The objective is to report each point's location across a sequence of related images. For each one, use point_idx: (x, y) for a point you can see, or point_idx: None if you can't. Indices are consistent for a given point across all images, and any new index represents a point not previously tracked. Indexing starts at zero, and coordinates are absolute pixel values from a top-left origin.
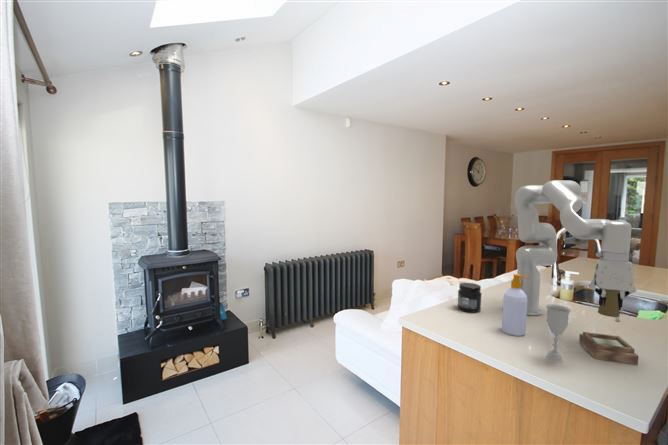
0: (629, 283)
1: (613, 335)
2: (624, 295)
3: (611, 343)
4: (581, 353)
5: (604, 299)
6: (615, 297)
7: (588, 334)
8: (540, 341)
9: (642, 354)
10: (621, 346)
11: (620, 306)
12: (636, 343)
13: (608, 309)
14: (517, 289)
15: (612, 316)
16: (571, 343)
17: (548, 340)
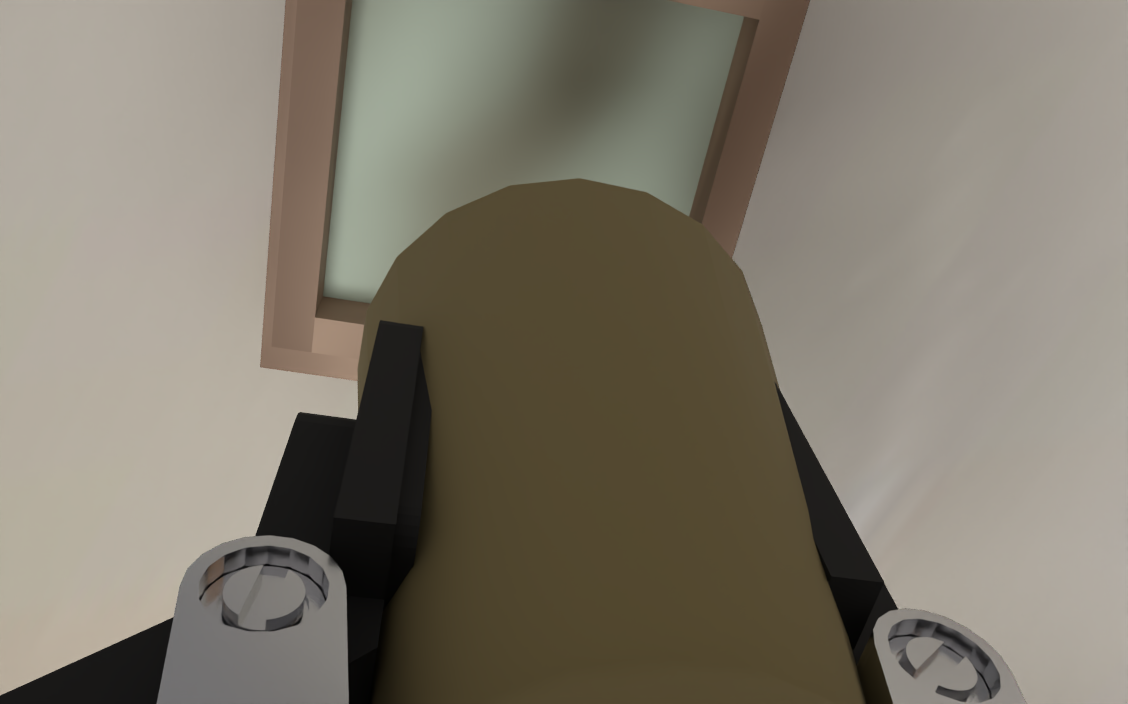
0: None
1: (338, 353)
2: (180, 651)
3: (457, 175)
4: (859, 41)
5: (855, 542)
6: (579, 548)
7: None
8: (1125, 299)
9: (89, 141)
10: (374, 92)
11: (379, 370)
12: (8, 437)
13: (708, 301)
14: None
15: (605, 190)
16: (791, 307)
17: (1010, 342)
